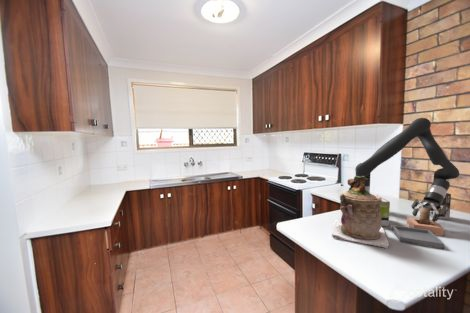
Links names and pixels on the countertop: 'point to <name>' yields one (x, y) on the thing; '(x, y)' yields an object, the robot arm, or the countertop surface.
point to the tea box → (384, 211)
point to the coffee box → (445, 202)
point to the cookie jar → (360, 216)
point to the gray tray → (417, 236)
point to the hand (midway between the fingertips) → (423, 218)
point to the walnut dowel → (424, 215)
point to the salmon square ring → (426, 226)
